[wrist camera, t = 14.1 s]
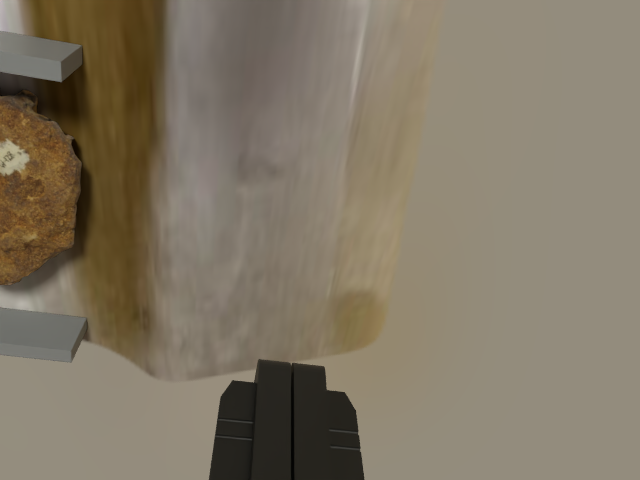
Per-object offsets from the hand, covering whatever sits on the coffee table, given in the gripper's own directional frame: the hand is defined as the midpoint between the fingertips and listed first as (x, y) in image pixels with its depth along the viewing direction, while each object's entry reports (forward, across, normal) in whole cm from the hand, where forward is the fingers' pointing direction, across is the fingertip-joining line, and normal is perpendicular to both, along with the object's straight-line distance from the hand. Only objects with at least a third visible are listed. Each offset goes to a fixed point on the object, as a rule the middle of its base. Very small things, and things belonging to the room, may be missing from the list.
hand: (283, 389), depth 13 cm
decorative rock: (+30, +18, +12) cm, 37 cm away
